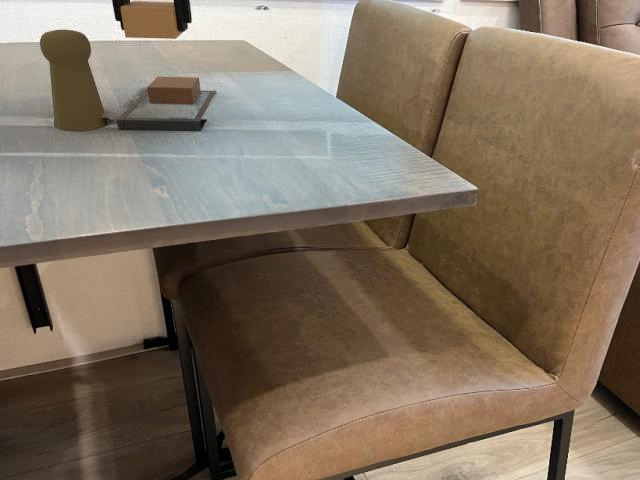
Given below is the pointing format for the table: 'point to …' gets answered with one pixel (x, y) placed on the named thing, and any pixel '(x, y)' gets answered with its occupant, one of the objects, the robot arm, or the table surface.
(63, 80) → the olive pawn
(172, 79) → the pad
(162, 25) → the loose pad
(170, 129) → the frame
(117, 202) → the table surface
